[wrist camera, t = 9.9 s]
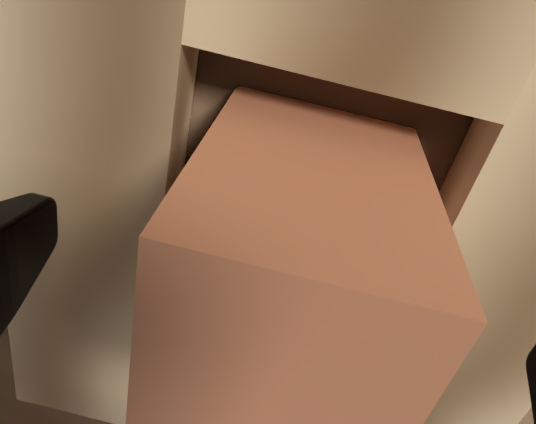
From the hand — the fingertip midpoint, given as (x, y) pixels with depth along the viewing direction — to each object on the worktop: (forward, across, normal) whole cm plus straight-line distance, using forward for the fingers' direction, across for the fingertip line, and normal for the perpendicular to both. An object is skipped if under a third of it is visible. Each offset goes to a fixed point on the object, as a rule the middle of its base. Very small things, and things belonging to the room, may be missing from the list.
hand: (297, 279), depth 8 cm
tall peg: (+4, 0, 0) cm, 4 cm away
